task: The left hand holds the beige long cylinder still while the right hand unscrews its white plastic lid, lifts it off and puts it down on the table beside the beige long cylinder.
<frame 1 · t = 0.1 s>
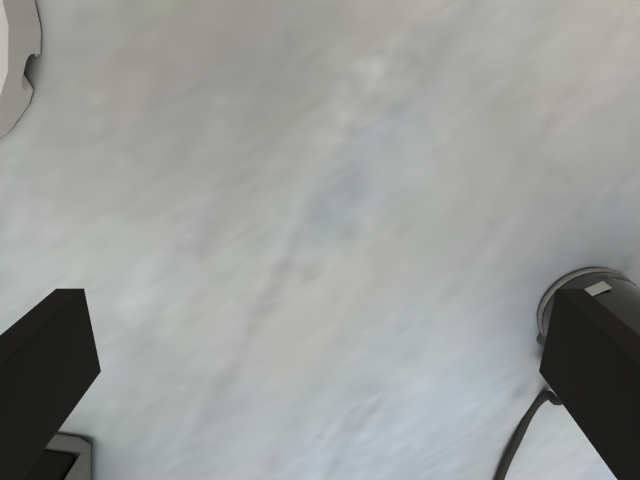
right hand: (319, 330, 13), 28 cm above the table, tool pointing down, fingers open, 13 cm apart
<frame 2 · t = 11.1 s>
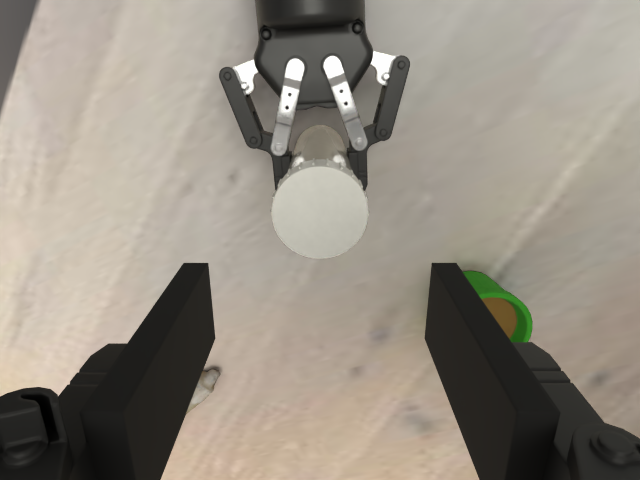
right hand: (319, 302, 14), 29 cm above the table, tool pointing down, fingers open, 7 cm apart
left hand: (322, 197, 36), fingers closed on beige long cylinder, 4 cm apart
syringe: (148, 431, 53), on the table
potted flower: (467, 297, 47), on the table
beige long cylinder: (320, 149, 42), on the table, touching left hand
lid: (319, 212, 24), point 19 cm above the table, screwed on, not yet turned
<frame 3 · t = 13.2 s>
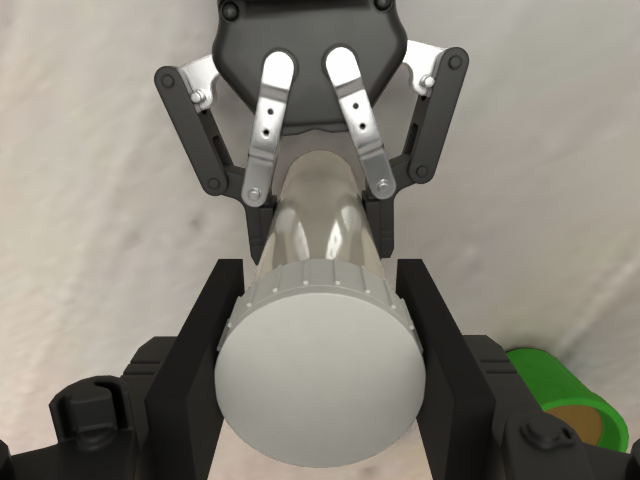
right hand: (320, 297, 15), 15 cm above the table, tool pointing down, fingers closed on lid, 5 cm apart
left hand: (323, 265, 24), fingers closed on beige long cylinder, 4 cm apart
potted flower: (521, 381, 34), on the table
beige long cylinder: (320, 184, 29), on the table, touching left hand
lid: (320, 378, 11), point 19 cm above the table, screwed on, not yet turned, touching right hand
when the right hand's fingers open (16 cm above the table, at t = 14.7 s): lid stays where it is, point 20 cm above the table.
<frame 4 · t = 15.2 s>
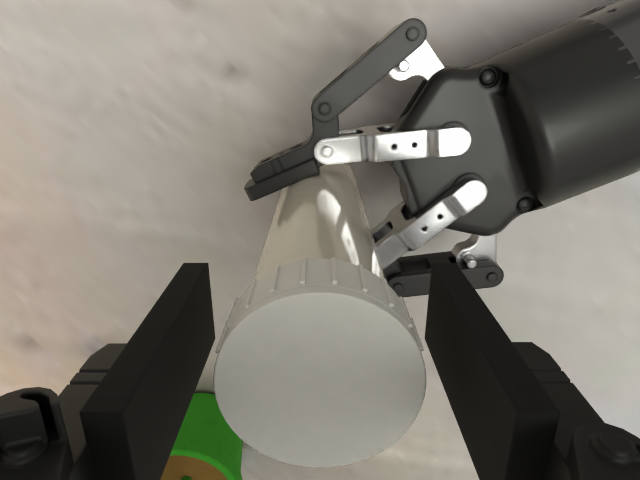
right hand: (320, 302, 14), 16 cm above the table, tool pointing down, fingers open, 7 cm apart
left hand: (272, 234, 24), fingers closed on beige long cylinder, 4 cm apart
potted flower: (204, 423, 36), on the table
beige long cylinder: (320, 183, 29), on the table, touching left hand
lid: (319, 378, 11), point 20 cm above the table, turned 104° so far, risen 0.3 cm, still on its thread
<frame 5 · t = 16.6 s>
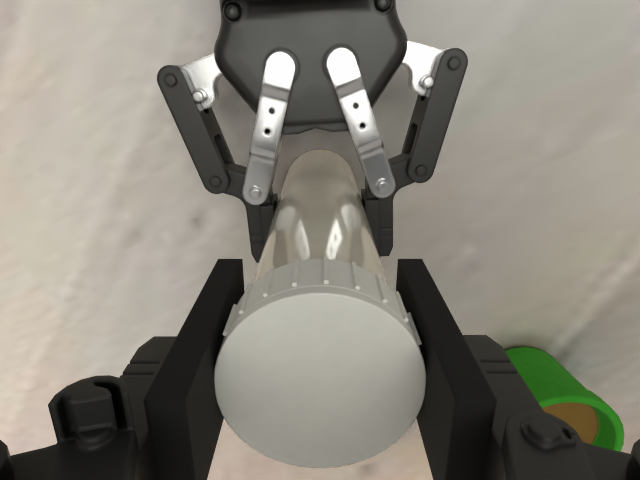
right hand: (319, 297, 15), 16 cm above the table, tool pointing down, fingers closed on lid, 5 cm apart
left hand: (323, 262, 24), fingers closed on beige long cylinder, 4 cm apart
potted flower: (518, 380, 35), on the table
beige long cylinder: (320, 183, 29), on the table, touching left hand
lid: (320, 378, 11), point 20 cm above the table, turned 104° so far, risen 0.3 cm, still on its thread, touching right hand
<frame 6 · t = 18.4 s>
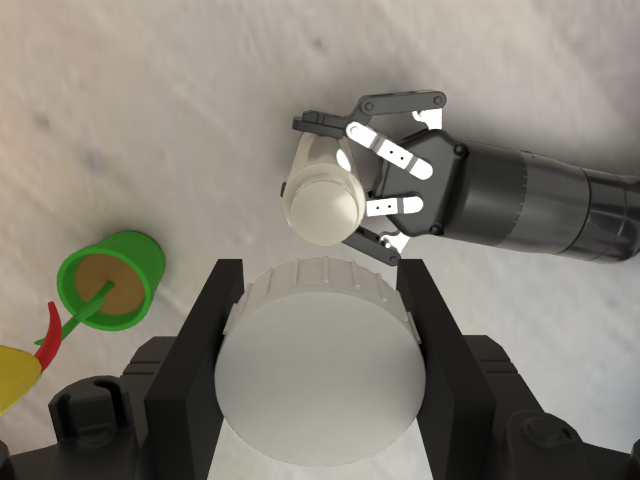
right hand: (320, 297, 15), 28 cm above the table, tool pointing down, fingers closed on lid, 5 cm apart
left hand: (288, 157, 34), fingers closed on beige long cylinder, 4 cm apart
potted flower: (132, 260, 44), on the table
beige long cylinder: (323, 148, 40), on the table, touching left hand
lid: (320, 377, 11), point 32 cm above the table, off its thread, touching right hand
when the right hand's fingers open (0 cm above the table, at t = 25.1 s): lid drops 2 cm, point 2 cm above the table.
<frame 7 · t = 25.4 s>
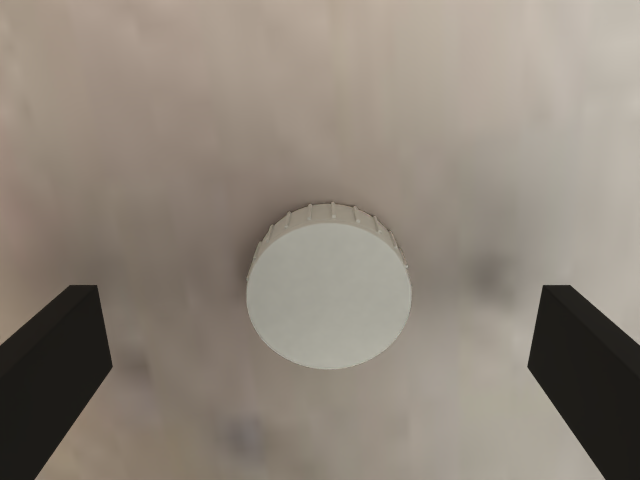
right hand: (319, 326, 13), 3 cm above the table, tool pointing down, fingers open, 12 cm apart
lid: (328, 295, 14), point 2 cm above the table, off its thread
when the left hand's fingers open (7 cm above the table, at t = 25.8 s): beige long cylinder stays where it is, on the table.
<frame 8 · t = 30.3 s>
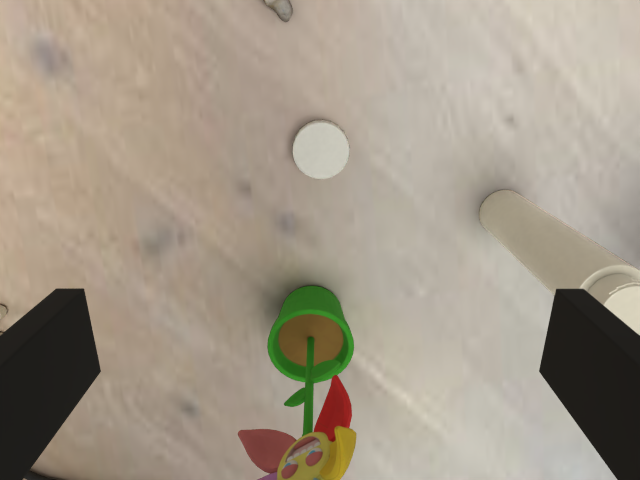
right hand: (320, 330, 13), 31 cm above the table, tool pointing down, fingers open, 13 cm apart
potted flower: (309, 311, 48), on the table
beige long cylinder: (502, 212, 44), on the table
lid: (320, 150, 40), point 2 cm above the table, off its thread
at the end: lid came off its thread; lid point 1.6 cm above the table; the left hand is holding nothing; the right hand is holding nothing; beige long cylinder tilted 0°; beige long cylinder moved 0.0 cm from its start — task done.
